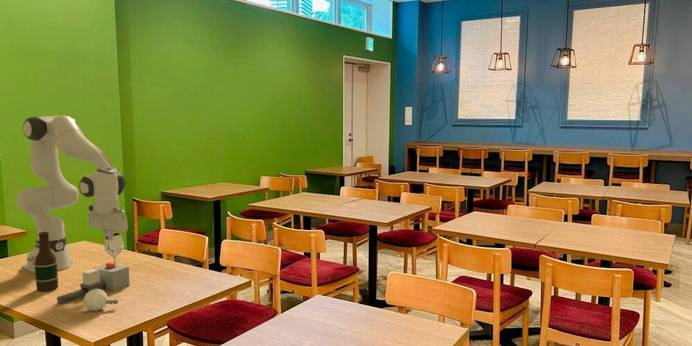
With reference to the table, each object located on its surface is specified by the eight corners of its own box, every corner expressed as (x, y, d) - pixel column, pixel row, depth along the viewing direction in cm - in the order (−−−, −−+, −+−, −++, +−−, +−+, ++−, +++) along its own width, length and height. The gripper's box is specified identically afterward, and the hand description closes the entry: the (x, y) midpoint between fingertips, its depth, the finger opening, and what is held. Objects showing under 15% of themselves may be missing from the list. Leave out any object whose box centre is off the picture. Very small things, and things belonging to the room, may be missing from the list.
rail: (57, 303, 192) (56, 297, 191) (101, 288, 208) (101, 282, 208) (61, 304, 191) (60, 298, 190) (105, 289, 207) (105, 283, 207)
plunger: (105, 284, 211) (103, 263, 210) (112, 281, 214) (111, 261, 213) (110, 285, 209) (109, 265, 208) (118, 283, 212) (117, 262, 211)
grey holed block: (93, 286, 211) (92, 268, 210) (110, 280, 218) (109, 262, 217) (113, 291, 205) (112, 272, 204) (129, 285, 212) (128, 266, 211)
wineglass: (126, 274, 227) (124, 235, 225) (107, 277, 222) (105, 237, 220) (123, 269, 234) (121, 231, 231) (104, 272, 229) (102, 234, 227)
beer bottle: (48, 293, 203) (44, 235, 200) (32, 291, 204) (27, 234, 201) (62, 286, 210) (59, 230, 208) (47, 285, 212) (42, 229, 209)
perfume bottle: (86, 296, 190) (121, 297, 193) (81, 315, 184) (116, 315, 187) (85, 284, 185) (120, 285, 188) (79, 303, 179) (116, 304, 182)
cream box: (80, 292, 202) (79, 271, 201) (94, 287, 207) (92, 267, 206) (90, 294, 199) (89, 274, 198) (103, 290, 205) (102, 269, 204)
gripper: (131, 208, 205) (132, 241, 207) (98, 203, 215) (99, 234, 217) (117, 211, 200) (119, 245, 202) (84, 206, 209) (86, 238, 211)
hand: (108, 239), depth 209 cm, fingers closed
